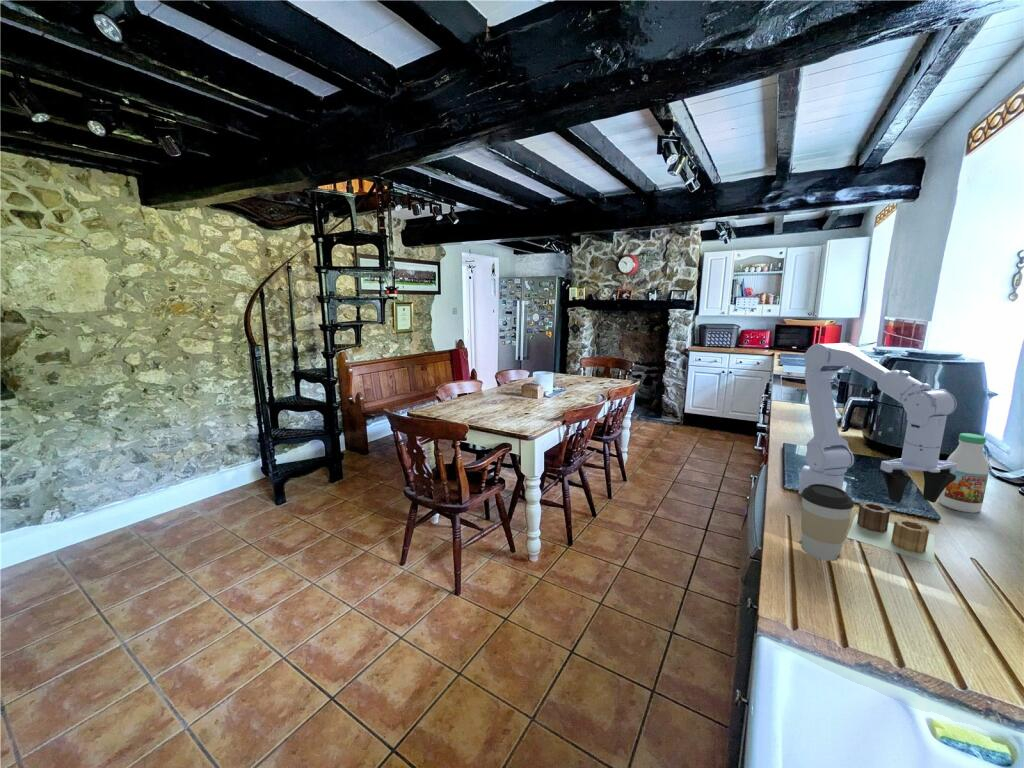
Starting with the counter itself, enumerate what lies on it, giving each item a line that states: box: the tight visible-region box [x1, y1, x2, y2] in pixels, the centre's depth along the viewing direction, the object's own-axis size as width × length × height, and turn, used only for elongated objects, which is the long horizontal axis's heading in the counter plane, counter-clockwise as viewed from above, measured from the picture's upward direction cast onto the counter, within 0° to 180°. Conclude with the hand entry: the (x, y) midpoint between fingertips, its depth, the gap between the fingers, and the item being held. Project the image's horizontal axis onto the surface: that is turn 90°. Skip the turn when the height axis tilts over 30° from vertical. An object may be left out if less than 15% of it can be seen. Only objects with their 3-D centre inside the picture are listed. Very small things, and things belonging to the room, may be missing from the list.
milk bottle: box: [938, 432, 990, 514], centre depth 106 cm, size 8×8×20 cm
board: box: [846, 513, 936, 565], centre depth 92 cm, size 14×15×4 cm
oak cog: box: [891, 518, 930, 553], centre depth 88 cm, size 5×5×5 cm
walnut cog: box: [857, 501, 891, 533], centre depth 96 cm, size 5×5×5 cm
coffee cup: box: [800, 484, 855, 562], centre depth 88 cm, size 9×9×15 cm
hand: (911, 500), depth 91 cm, fingers open, 7 cm apart
